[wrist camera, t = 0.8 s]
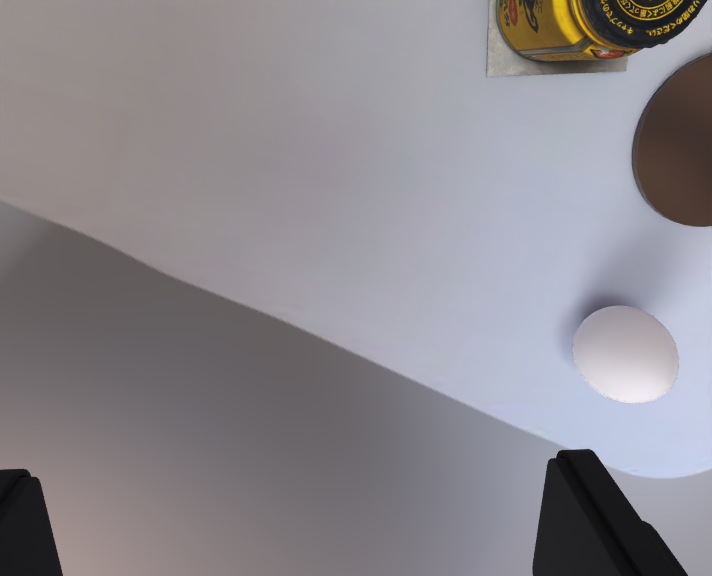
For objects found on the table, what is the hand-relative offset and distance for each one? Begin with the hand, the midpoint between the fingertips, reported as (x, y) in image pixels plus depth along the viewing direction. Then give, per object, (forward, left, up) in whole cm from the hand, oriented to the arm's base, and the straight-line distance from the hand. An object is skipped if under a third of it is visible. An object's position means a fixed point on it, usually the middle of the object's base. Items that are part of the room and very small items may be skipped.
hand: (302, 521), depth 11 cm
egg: (+11, +20, -28) cm, 36 cm away
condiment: (-10, +15, -28) cm, 34 cm away
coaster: (-2, +26, -28) cm, 38 cm away
